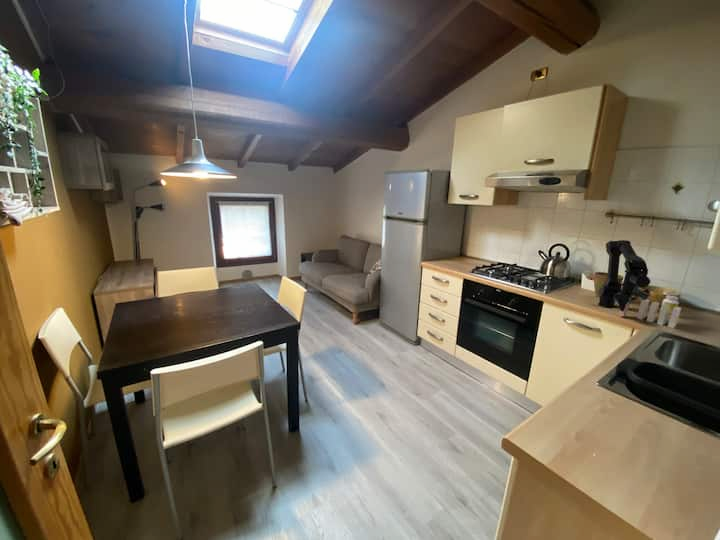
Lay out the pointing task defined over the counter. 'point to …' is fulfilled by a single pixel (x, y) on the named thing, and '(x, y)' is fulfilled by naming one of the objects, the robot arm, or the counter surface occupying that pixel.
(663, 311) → the ivory domino
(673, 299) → the pill bottle
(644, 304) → the ivory domino
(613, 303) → the robot arm
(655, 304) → the ivory domino
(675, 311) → the ivory domino
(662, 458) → the counter surface
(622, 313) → the terracotta domino
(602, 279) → the plant pot
